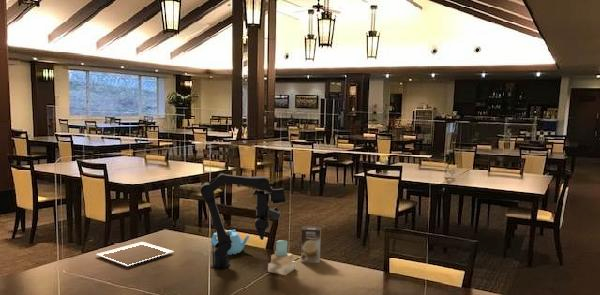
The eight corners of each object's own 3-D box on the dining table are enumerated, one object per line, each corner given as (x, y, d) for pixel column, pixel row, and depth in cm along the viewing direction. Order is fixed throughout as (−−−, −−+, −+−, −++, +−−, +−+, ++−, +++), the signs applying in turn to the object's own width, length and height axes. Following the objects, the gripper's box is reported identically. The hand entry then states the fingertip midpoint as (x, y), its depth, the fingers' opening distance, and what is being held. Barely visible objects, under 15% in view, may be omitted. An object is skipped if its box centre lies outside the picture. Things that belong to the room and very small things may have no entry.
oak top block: (271, 263, 201) (271, 255, 201) (279, 258, 207) (279, 251, 207) (284, 266, 198) (284, 258, 197) (292, 261, 204) (292, 253, 203)
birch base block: (267, 272, 200) (268, 263, 200) (278, 266, 208) (278, 257, 208) (285, 276, 196) (285, 267, 196) (295, 269, 204) (295, 261, 204)
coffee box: (300, 262, 213) (300, 229, 211) (301, 258, 219) (302, 225, 217) (319, 263, 212) (320, 230, 210) (320, 258, 218) (321, 226, 217)
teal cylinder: (274, 255, 201) (274, 242, 200) (279, 252, 205) (279, 239, 205) (283, 257, 198) (284, 244, 198) (289, 254, 203) (289, 241, 202)
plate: (142, 244, 237) (142, 241, 237) (174, 254, 222) (174, 250, 222) (95, 258, 216) (95, 253, 216) (127, 269, 201) (127, 265, 201)
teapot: (235, 244, 239) (235, 225, 238) (250, 252, 227) (250, 231, 226) (209, 250, 229) (209, 229, 228) (223, 258, 218) (223, 236, 217)
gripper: (280, 208, 199) (279, 242, 200) (279, 199, 217) (279, 231, 219) (254, 208, 198) (254, 242, 199) (256, 199, 217) (256, 231, 218)
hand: (262, 236), depth 209 cm, fingers open, 9 cm apart
